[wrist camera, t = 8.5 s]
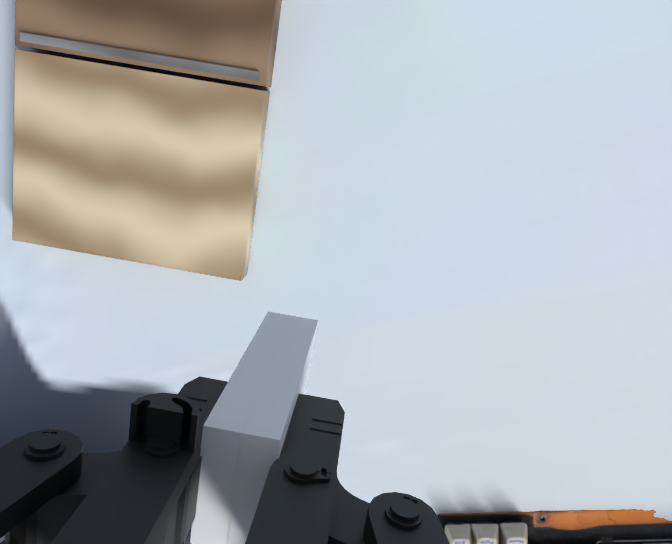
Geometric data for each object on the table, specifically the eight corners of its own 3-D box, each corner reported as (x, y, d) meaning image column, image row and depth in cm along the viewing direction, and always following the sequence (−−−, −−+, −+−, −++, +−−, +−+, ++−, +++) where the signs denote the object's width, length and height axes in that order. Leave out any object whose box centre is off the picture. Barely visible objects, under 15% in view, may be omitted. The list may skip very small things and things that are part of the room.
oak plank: (31, 51, 45) (15, 49, 43) (269, 91, 44) (264, 90, 42) (27, 234, 49) (12, 239, 47) (246, 273, 48) (241, 280, 46)
